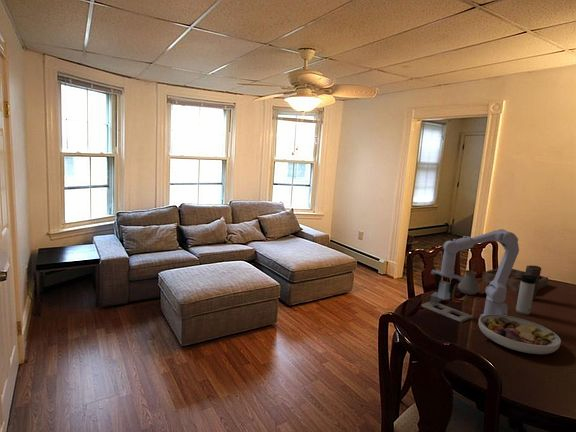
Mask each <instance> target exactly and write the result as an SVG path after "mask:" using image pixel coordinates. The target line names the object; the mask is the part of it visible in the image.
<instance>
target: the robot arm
mask: <svg viewBox="0 0 576 432" xmlns="http://www.w3.org/2000/svg"><path fill="white" fill-rule="evenodd" d="M490 241H493V242H497V243H499V244H501V246H502V247H503V250H504V253H503V256H502V258H501V261H500V263H499V265H498V267H497V268H498V270H497V273H496V275H495V278H494V280H493V281H491V282H490V283H488V285H487V286H486V287H485V290H484V292H485V294H486V298H485V303H484V309H483V313H482V314H479V316H480V317H481V316H483V315H489V314H497V315H506V316H508V310H509V306H508V304H506V303H504V302H505V301H506V299H507V290H508V289H507V288H506V282H507V280H508V278H510V276H509V275H510V272H511V270H512V269H514V268H513V267H514V266H515V262H516V260H517V258H518V255H519V252H520V248H519V243H518V242H519V237H518V236H517V235H516V234H515V233H513V232H511V231H507V229H502V228H501V229H497V230H496V229H495V230H492V231H490V232H487V233H483V234H480V235H477V236H476V235H475V236H473V237H471V236H470V235H469V236H466V235H464V236H462V237H460V238H453V240H446V241H445V242H444V243H443V244H442V249H443V255H442V260H441V261H442V262H441V268H440V270H437V269H432V270H431V272H430V274H431V275H434V276H433V278H434V281H435V284H436V290H437V291H438V289H439V282H441V281H442V277H444V278H448V279H451V280H450V283H451V287H450V292H449V293H450V294H452V293H453V290H454V288H455V286H456V285H457V283H458V282H461V281H462V280H463V277H464V276H462V275H459V274H456V273H454V272H455V264H456V257H457V253H459V252H461V251H464V250H468V249H472V248H474V246H475V245H477V244H482V243H486V242H490Z"/></svg>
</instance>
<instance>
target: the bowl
mask: <svg viewBox="0 0 576 432" xmlns="http://www.w3.org/2000/svg"><path fill="white" fill-rule="evenodd" d="M477 324H478V327H479V330H480V331H481V333H482V334H483V335H484V336H485V337H487V339H489V340H490V341H493V342H494V343H496V344H498V345H500V346H503V347H505V348H507V349H510V350H514V351H517V352H521V353H525V354H534V355H548V354H552V353H555V352H556V351H557V350H558V349H559V348H560V346H561V342H562V339H561V338H560V336H558V334H556V333H555V332H554V331H552V330H551V329H549V328H547V327H546V326H545V327H544V326H543V325H541V324H538V323H536V322H533V321H530V320H528V319H523V318H520V317H515V316H512V315H507V316H506V315H497V314H489V315H483V316H480V317H478V323H477Z"/></svg>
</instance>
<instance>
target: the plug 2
mask: <svg viewBox="0 0 576 432" xmlns="http://www.w3.org/2000/svg"><path fill="white" fill-rule="evenodd" d="M450 287H451V282H449V281H445V280H441V282H439V289H438V290H437V292H438V297H439V298H441V299H442V300H443V301H444V300H445V301H446V300H450V299H451V293H449V292H450Z"/></svg>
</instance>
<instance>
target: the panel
mask: <svg viewBox="0 0 576 432" xmlns="http://www.w3.org/2000/svg"><path fill="white" fill-rule="evenodd" d="M421 307H422V308H425V309H427V310H430V311H432V312H434V313H438V314H439V315H442V316H444V317H447V318H450V319H452V320H455V321H457V322H460V323H462V322H464V321H467V320H469V319H472V314H468V313H467V312H463V311H460V310H458V309H455V308H452V307H450V306H447V305H445V304H442V303H440V302H439V303H437V302H434V301H430V300H429V301H426V302H424V303H421ZM437 307H438V308H437ZM439 308H440V309H439ZM452 313H453V314H452ZM455 314H456V315H455ZM457 315H459V316H457Z"/></svg>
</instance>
